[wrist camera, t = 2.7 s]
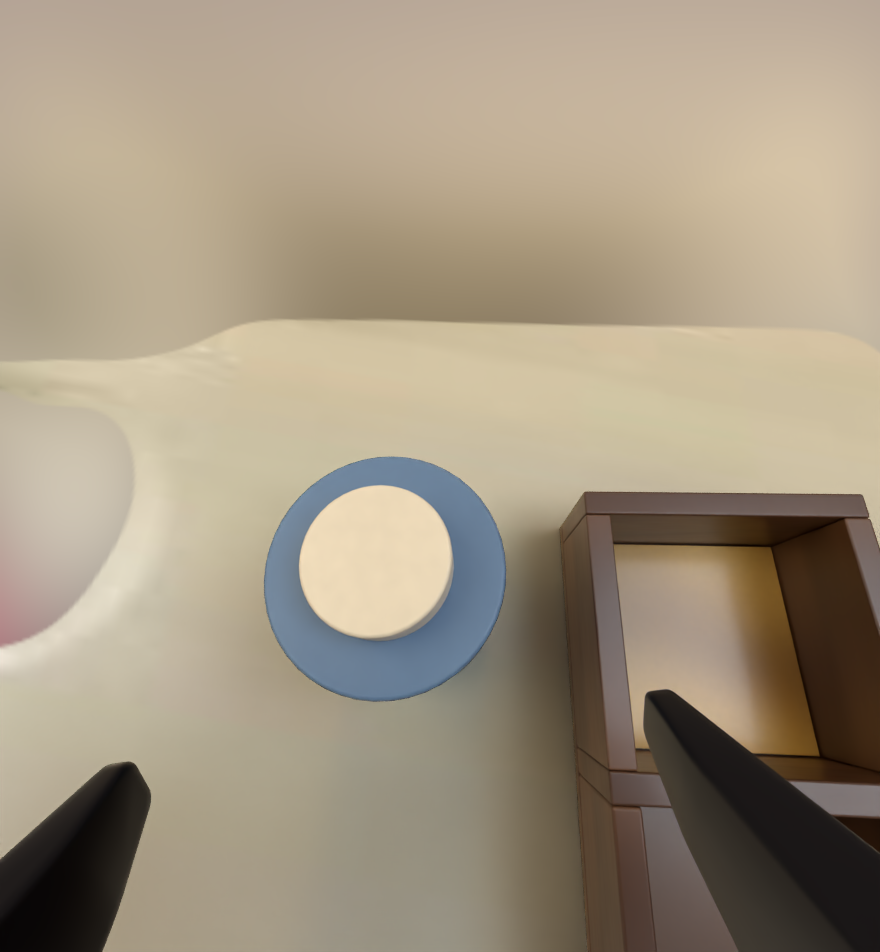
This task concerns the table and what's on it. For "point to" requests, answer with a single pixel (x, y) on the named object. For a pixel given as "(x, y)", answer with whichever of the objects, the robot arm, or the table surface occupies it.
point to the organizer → (713, 679)
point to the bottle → (385, 579)
